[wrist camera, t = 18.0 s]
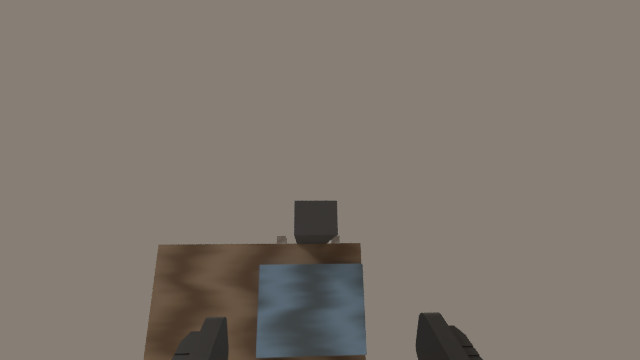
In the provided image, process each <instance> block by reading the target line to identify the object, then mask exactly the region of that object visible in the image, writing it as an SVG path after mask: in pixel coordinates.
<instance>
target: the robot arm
mask: <svg viewBox="0 0 640 360" xmlns="http://www.w3.org/2000/svg"><path fill="white" fill-rule="evenodd" d="M416 352H417V357H418V360H483V359H482V358H481V357H480V356H479V354H478V352H477V351H476V350H475V348H473V345H472V344H471V343H470V341H469V339H468V338H467V337H466V335H465V334H464V333H462V332H461V331H460V330H459V329H457V328H456V327H455V326H448V324H447V323H446V321H445V320H444V318H443V317H442V315H441V314H440V313H420V315H419V321H418V329H417V338H416ZM228 354H229V345H228V330H227V319H226V317H206V319H205V321H204V323H203V325H202V327H201V329H200V331H191V332H190V333H189V334H188V335H187V336H186V337H185V338H184V339H183V340H182V341H181V342H180V344H179V346H178V348H177V350H176V352H175V353H174V356H173V357H172V359H171V360H228Z"/></svg>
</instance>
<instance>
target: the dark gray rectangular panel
mask: <svg viewBox="0 0 640 360" xmlns="http://www.w3.org/2000/svg"><path fill="white" fill-rule="evenodd" d="M294 219H295V221H294V236H295V239H296V242H297V244H327V243H328V242H329V241H330V240H332V239H333V238H334V237H336V236H337V235H338V228H337V201H295V218H294Z"/></svg>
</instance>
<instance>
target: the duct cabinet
mask: <svg viewBox="0 0 640 360" xmlns="http://www.w3.org/2000/svg"><path fill="white" fill-rule="evenodd" d="M339 242H340V241H339V236H336V237H334V238H333V239H332V240H330V241H329V244H286V243H287V239H286V237H285V236H277V244H205V245H202V244H200V245H199V244H198V245H159V246H158V253H157V261H156V269H155V276H154V284H153V292H152V299H151V307H150V315H149V322H148V330H147V338H146V345H145V353H144V360H171V359H172V357H173V356H174V353H175V352H176V350H177V348H178V346H179V344H180V342H181V341H182V340H183V339H184V338H185V337H186V336H187V335H188V334H189V333H190V332H191V331H200V329H201V327H202V325H203V323H204V321H205V319H206V317H226V319H227V330H228V345H229V354H228V360H365V359H366V358H365V355H366V354H367V353H366V331H365V310H364V289H363V269H362V267H363V266H362V264H361V248H360V243H339Z"/></svg>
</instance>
